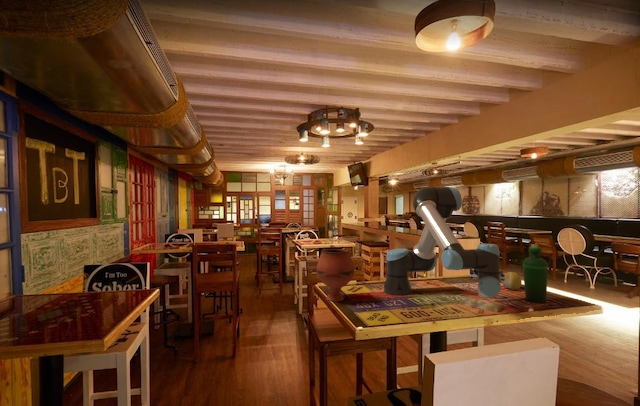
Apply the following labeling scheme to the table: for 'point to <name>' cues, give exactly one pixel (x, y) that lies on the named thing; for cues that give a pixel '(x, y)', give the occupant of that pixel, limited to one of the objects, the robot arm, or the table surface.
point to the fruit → (512, 281)
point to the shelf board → (481, 304)
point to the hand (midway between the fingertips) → (485, 270)
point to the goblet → (335, 271)
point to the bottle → (535, 275)
